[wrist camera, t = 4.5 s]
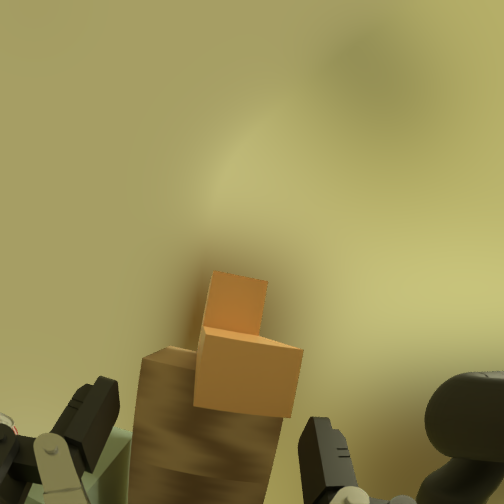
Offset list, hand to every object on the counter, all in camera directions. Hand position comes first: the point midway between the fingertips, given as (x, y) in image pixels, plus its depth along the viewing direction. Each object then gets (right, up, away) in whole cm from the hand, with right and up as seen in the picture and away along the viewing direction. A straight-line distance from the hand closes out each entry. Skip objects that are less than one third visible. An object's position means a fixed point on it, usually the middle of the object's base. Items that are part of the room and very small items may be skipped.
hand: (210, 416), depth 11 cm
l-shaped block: (0, -2, +9) cm, 9 cm away
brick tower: (-7, -33, +6) cm, 34 cm away
